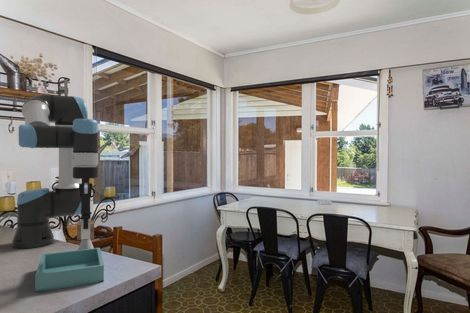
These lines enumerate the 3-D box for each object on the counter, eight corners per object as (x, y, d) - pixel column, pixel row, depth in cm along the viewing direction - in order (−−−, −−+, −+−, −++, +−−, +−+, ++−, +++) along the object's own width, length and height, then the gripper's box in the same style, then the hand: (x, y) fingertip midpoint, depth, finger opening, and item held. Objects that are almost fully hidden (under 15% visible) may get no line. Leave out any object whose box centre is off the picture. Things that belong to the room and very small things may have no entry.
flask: (88, 261, 115) (88, 234, 115) (70, 259, 117) (70, 233, 116) (100, 255, 122) (100, 229, 122) (83, 253, 124) (84, 228, 124)
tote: (42, 268, 108) (42, 254, 108) (99, 261, 116) (99, 247, 116) (35, 292, 90) (35, 275, 90) (103, 281, 98) (103, 265, 98)
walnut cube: (77, 236, 105) (77, 221, 105) (93, 235, 108) (93, 220, 108) (76, 240, 101) (77, 224, 101) (94, 238, 103) (94, 223, 103)
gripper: (73, 165, 110) (73, 231, 111) (72, 167, 94) (72, 245, 94) (96, 164, 114) (96, 229, 114) (99, 167, 97) (99, 242, 98)
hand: (85, 236), depth 104 cm, fingers closed on walnut cube, 5 cm apart
